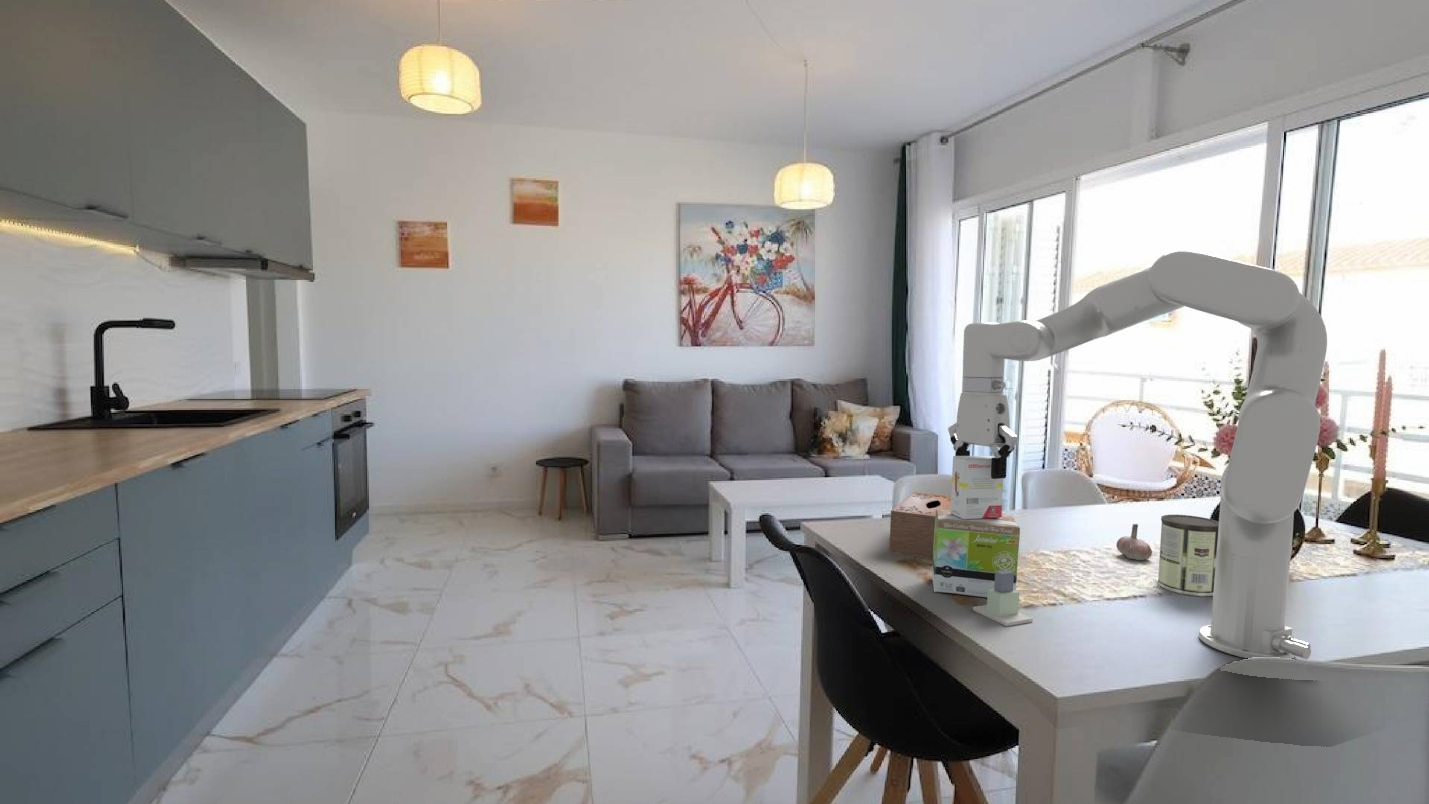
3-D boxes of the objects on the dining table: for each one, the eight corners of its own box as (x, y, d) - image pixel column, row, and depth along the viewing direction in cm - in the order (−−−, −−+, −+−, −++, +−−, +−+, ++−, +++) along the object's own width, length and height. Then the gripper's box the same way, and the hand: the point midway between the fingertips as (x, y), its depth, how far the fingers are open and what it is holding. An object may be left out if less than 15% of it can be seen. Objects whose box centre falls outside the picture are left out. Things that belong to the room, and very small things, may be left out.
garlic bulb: (1121, 551, 172) (1124, 518, 171) (1156, 558, 166) (1158, 524, 166) (1111, 557, 166) (1113, 523, 166) (1146, 564, 161) (1148, 529, 161)
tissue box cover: (913, 529, 189) (914, 492, 189) (970, 536, 183) (972, 498, 182) (889, 552, 167) (891, 510, 166) (953, 562, 160) (955, 518, 159)
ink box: (988, 512, 143) (991, 454, 143) (1002, 518, 139) (1005, 458, 138) (949, 513, 142) (951, 454, 141) (961, 519, 137) (964, 458, 136)
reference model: (1032, 621, 125) (1035, 577, 124) (1006, 626, 123) (1008, 580, 122) (998, 606, 132) (1000, 563, 132) (972, 610, 130) (975, 567, 129)
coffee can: (1182, 578, 151) (1187, 513, 150) (1230, 594, 142) (1235, 525, 140) (1144, 581, 149) (1149, 515, 147) (1189, 598, 139) (1195, 527, 138)
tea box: (933, 593, 138) (936, 518, 137) (931, 578, 148) (934, 507, 147) (1016, 602, 135) (1020, 525, 133) (1008, 585, 144) (1012, 513, 143)
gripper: (1032, 388, 132) (1029, 480, 133) (966, 384, 148) (963, 466, 149) (1001, 389, 129) (998, 483, 130) (937, 385, 145) (934, 468, 146)
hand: (979, 474), depth 139 cm, fingers open, 9 cm apart
